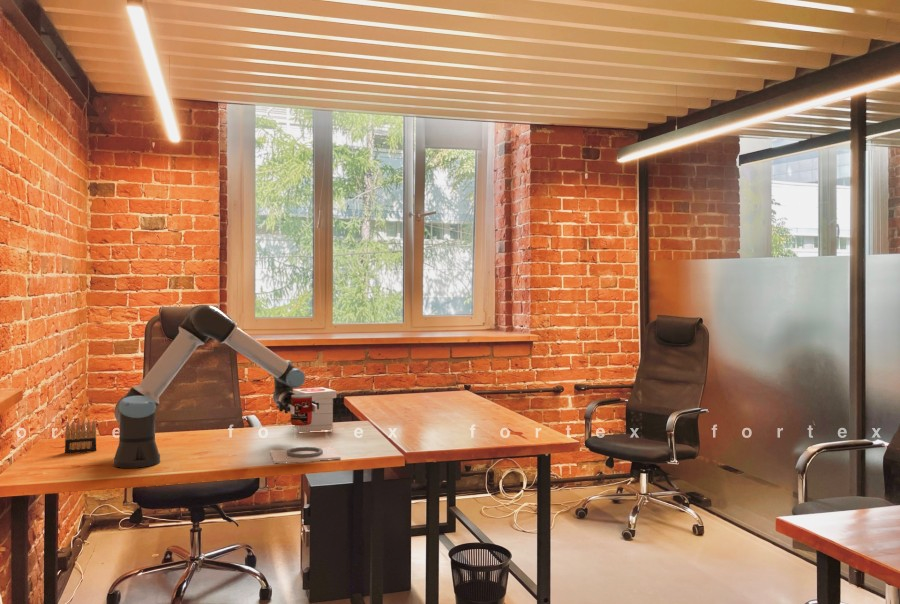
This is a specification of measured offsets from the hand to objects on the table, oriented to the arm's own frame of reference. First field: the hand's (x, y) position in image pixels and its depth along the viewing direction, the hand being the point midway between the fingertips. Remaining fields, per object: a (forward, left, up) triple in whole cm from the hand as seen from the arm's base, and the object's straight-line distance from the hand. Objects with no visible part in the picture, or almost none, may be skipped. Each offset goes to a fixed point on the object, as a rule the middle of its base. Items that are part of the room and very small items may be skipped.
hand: (304, 409), depth 257 cm
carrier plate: (+1, +1, -18) cm, 18 cm away
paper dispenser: (+56, +23, -18) cm, 63 cm away
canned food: (+4, +3, -6) cm, 8 cm away
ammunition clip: (-16, +86, -18) cm, 89 cm away
